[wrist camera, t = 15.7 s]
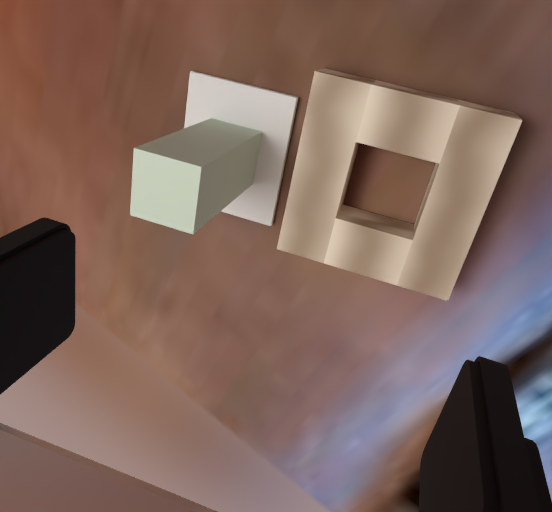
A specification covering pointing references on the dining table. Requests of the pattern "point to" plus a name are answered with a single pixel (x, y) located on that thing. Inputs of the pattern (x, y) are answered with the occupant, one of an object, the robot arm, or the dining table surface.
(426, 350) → the dining table surface
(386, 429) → the dining table surface
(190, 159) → the sage block
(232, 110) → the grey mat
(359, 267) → the square hole frame
